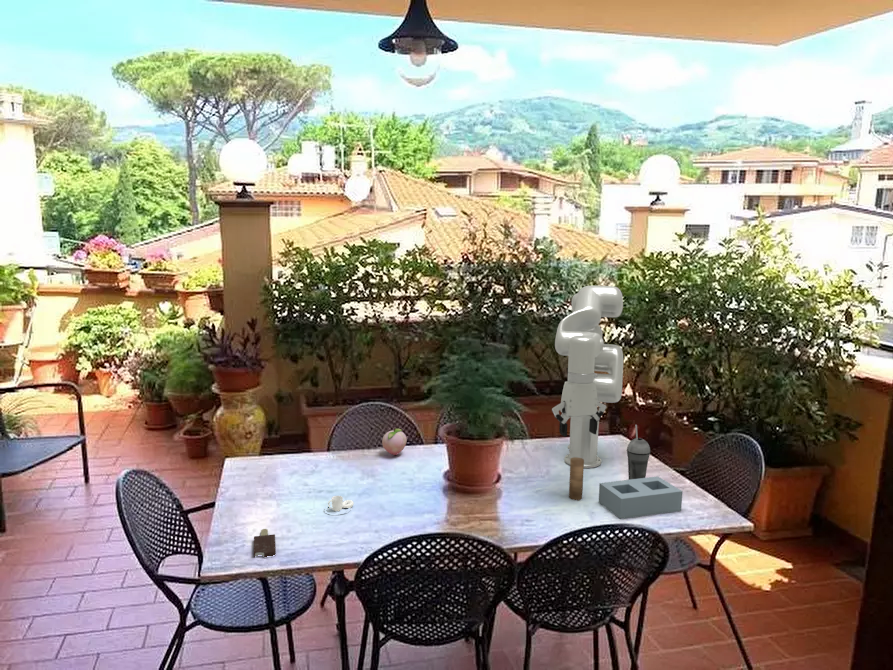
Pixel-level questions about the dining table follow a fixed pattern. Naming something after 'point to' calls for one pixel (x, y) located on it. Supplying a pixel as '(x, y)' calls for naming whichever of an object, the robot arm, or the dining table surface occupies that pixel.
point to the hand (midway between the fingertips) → (578, 434)
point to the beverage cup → (637, 457)
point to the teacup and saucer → (340, 503)
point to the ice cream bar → (264, 544)
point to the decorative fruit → (394, 441)
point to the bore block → (640, 497)
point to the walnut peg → (576, 478)
